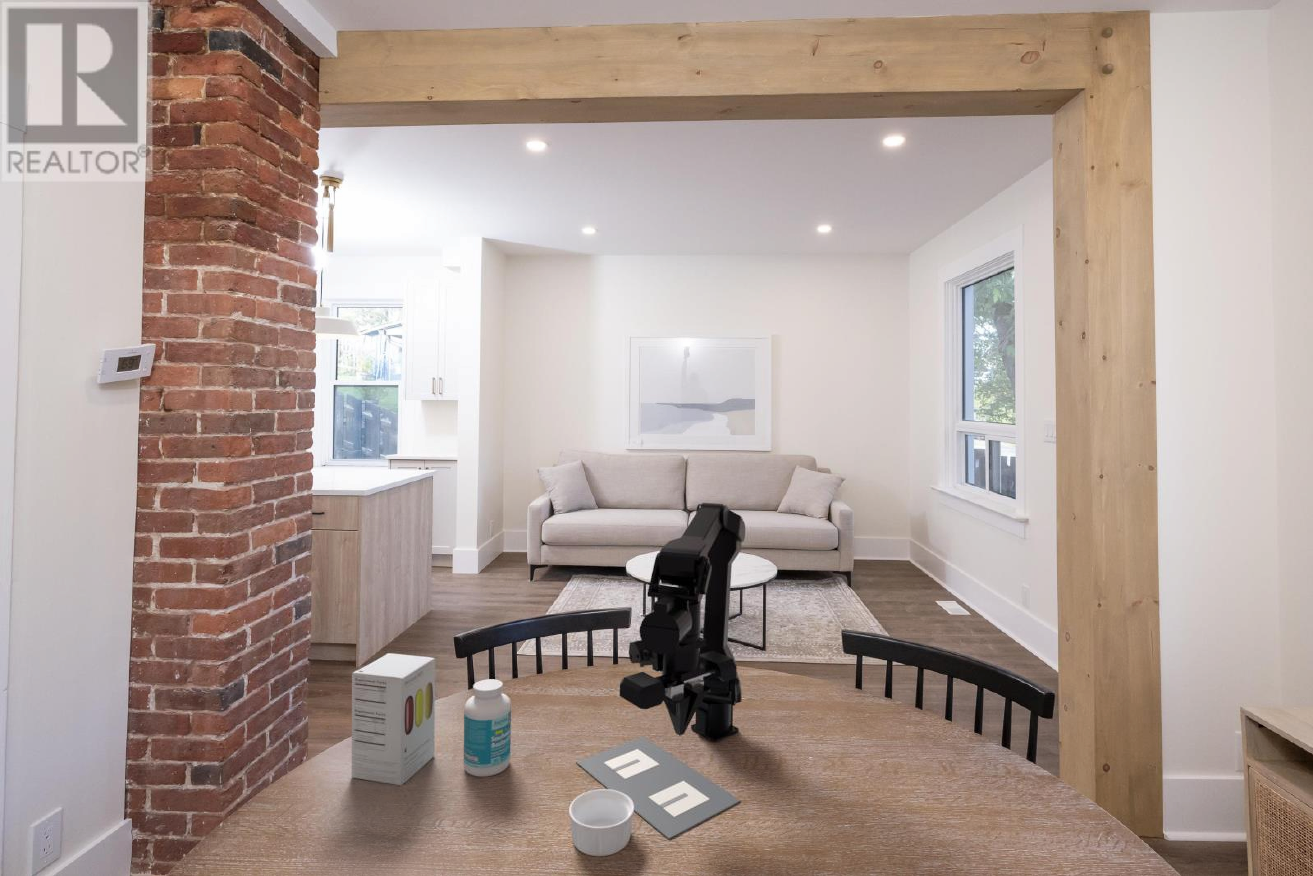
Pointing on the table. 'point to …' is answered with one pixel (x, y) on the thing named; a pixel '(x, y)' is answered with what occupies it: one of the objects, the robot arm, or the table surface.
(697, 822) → the slate mat
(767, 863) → the table surface
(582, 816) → the ramekin
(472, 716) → the pill bottle
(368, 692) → the supplement box
